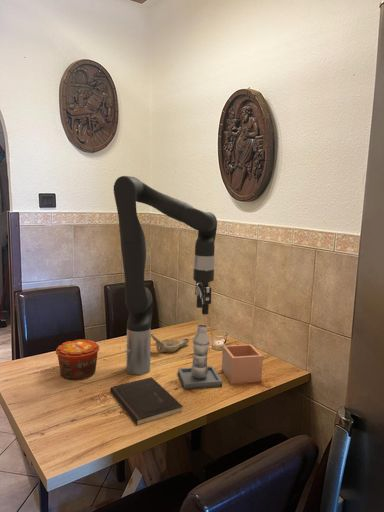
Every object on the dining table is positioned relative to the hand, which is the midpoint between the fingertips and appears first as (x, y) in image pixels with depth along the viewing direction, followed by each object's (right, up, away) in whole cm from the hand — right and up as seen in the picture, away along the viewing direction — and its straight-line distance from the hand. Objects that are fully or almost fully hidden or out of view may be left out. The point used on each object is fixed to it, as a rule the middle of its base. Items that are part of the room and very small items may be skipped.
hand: (202, 310), depth 138 cm
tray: (-1, -27, +4) cm, 27 cm away
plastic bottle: (-1, -26, +4) cm, 26 cm away
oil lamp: (-13, -23, +32) cm, 41 cm away
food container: (-48, -25, +7) cm, 54 cm away
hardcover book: (-20, -29, -12) cm, 37 cm away
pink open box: (+15, -26, +9) cm, 32 cm away
